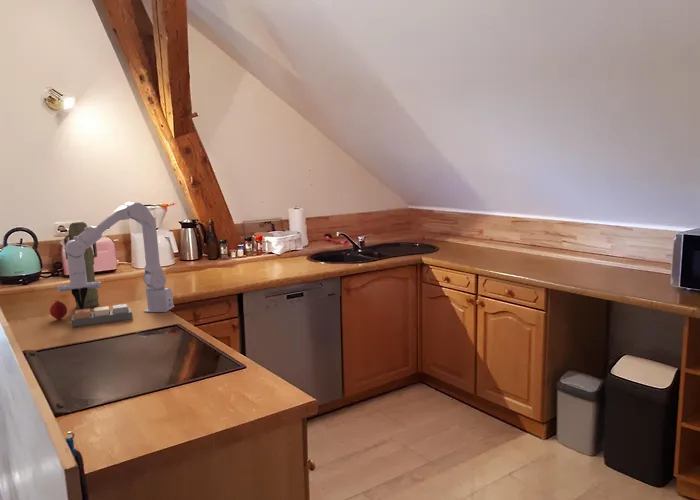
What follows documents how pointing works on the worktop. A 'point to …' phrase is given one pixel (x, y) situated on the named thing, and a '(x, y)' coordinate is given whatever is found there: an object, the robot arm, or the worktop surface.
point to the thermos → (92, 293)
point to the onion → (58, 310)
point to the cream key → (101, 311)
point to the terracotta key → (82, 313)
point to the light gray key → (120, 308)
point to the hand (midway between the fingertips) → (81, 308)
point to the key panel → (101, 319)
